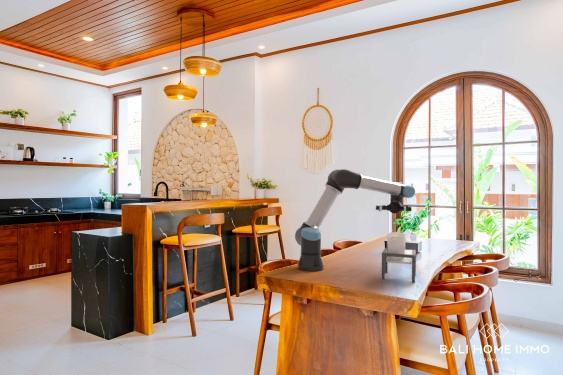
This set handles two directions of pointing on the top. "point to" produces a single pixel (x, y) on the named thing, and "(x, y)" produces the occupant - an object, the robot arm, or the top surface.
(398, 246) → the candle holder
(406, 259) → the trapdoor
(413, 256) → the stand
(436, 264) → the top surface
